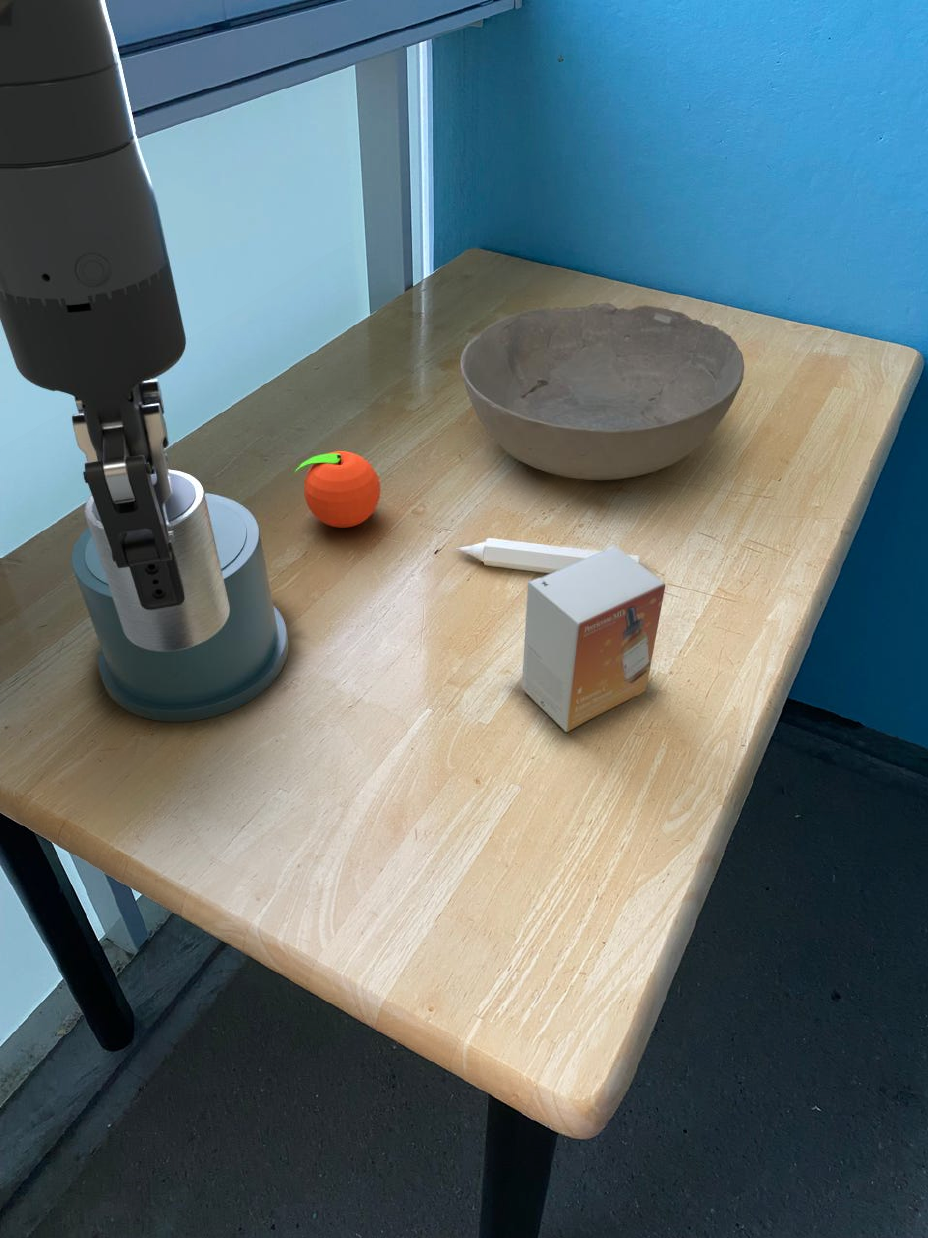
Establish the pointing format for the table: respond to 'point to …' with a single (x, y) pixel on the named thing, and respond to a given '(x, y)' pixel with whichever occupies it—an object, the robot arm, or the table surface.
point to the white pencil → (527, 555)
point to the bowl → (601, 387)
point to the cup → (196, 567)
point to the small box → (590, 636)
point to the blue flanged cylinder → (212, 668)
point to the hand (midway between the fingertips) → (162, 565)
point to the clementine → (341, 488)
